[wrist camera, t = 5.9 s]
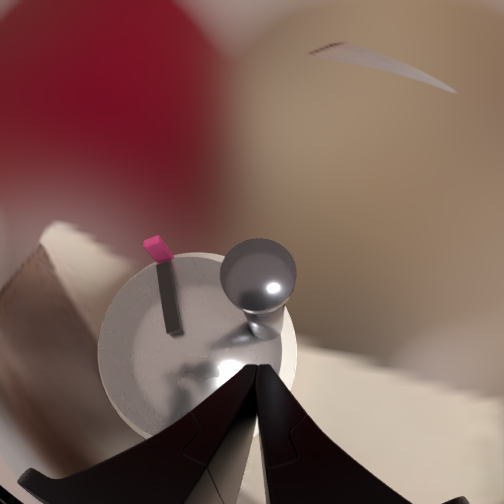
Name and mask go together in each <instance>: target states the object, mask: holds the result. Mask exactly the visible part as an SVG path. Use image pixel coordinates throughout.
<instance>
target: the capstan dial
mask: <svg viewBox="0 0 504 504" xmlns="http://www.w3.org/2000/svg"><path fill="white" fill-rule="evenodd" d="M295 281H296V265H295V262H294V260H293V258H292V256H291V254H290V253H289V252H288V251H287V250H286V249H285V248H284V247H283V246H282V245H280V244H278V243H276V242H274V241H272V240H268V239H251V240H247V241H244V242H242V243H239V244H238V245H236V246H235V247H233V248H232V249H231V250H230V251H229V252H228V253H227V255H226V256H225V258H224V259H223V262H219V261H215V260H212V259H208V258H201V257H180V258H173V259H169V260H165V261H162V262H159V263H156V264H154V265H152V266H150V267H148V268H146V269H144V270H143V271H141V272H140V273H138V274H137V275H135V276H134V277H133V278H132V279H130V280H129V281H128V282H127V283H126V284H125V285H124V286H123V287H122V288H121V290H120V291H119V292H118V293H117V295H116V296H115V298H114V299H113V301H112V302H111V304H110V306H109V308H108V310H107V312H106V314H105V317H104V319H103V323H102V326H101V330H100V336H99V346H98V355H99V365H100V370H101V375H102V378H103V381H104V384H105V387H106V389H107V391H108V393H109V395H110V397H111V398H112V400H113V402H114V403H115V405H116V406H117V407H118V409H119V410H120V411H121V412H122V413H123V415H124V416H125V417H126V418H127V419H129V420H130V421H131V422H132V423H133V424H134V425H136V426H137V427H138V428H140V429H141V430H143V431H144V432H146V433H148V434H150V435H152V436H153V435H155V434H157V433H159V432H160V431H162V430H164V429H165V428H167V427H168V426H170V425H171V424H173V423H174V422H176V421H177V420H178V419H180V418H181V417H183V416H184V415H185V414H186V413H188V412H190V411H191V410H192V409H193V408H195V407H196V406H197V405H198V404H200V403H201V402H202V401H203V400H205V399H206V398H207V397H208V396H209V395H211V394H212V393H213V392H214V391H215V390H217V389H218V388H219V387H220V386H221V385H223V384H224V383H225V382H226V381H227V380H228V379H230V378H231V377H232V376H233V375H234V374H235V373H237V372H238V371H239V370H240V369H241V368H242V367H243V366H245V365H246V364H257V365H259V364H270V365H271V366H272V368H273V369H274V370H275V372H276V373H277V374H278V376H279V373H280V367H281V362H282V342H281V334H280V333H281V331H282V328H283V320H284V309H285V303H286V302H287V301H288V299H289V298H290V296H291V295H292V292H293V290H294V287H295Z"/></svg>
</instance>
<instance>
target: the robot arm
mask: <svg viewBox="0 0 504 504" xmlns="http://www.w3.org/2000/svg"><path fill="white" fill-rule="evenodd" d="M257 420H258V430H259V440H260V450H261V459H262V468H263V477H264V487H265V495H266V504H412V503H411V502H409V501H408V500H407V499H405V498H404V497H402V496H401V495H400V494H398V493H397V492H395V491H394V490H393V489H391V488H390V487H389V486H387V485H386V484H385V483H383V482H382V481H381V480H380V479H378V478H377V477H376V476H374V475H373V474H372V473H371V472H369V471H368V470H367V469H366V468H364V467H363V466H362V465H361V464H359V463H358V462H357V461H356V460H354V459H353V458H352V457H351V456H350V455H348V454H347V453H346V452H345V451H344V450H343V449H341V448H340V447H339V446H338V445H337V444H336V443H334V442H333V441H332V440H331V439H330V438H329V437H328V436H327V435H326V434H325V433H324V432H323V431H322V430H321V429H320V428H319V427H318V426H317V424H316V423H315V422H314V421H313V420H312V418H311V417H310V416H309V415H308V414H307V413H306V411H305V410H304V409H303V407H302V406H301V405H300V403H299V402H298V401H297V400H296V398H295V397H294V396H293V394H292V393H291V392H290V390H289V389H288V388H287V386H286V385H285V384H284V382H283V381H282V380H281V378H280V377H279V376H278V374H277V373H276V372H275V370H274V369H273V368H272V366H271V365H270V364H259V365H257V364H246V365H245V366H243V367H242V368H241V369H240V370H239V371H238V372H237V373H235V374H234V375H233V376H232V377H231V378H230V379H228V380H227V381H226V382H225V383H224V384H223V385H221V386H220V387H219V388H218V389H217V390H215V391H214V392H213V393H212V394H211V395H209V396H208V397H207V398H206V399H205V400H203V401H202V402H201V403H200V404H198V405H197V406H196V407H195V408H193V409H192V410H191V411H190V412H188V413H186V414H185V415H184V416H183V417H181V418H180V419H178V420H177V421H176V422H174V423H173V424H171V425H170V426H168V427H167V428H165V429H164V430H162V431H160V432H159V433H157V434H155V435H153V436H152V437H150V438H148V439H146V440H144V441H142V442H141V443H139V444H137V445H135V446H133V447H131V448H129V449H127V450H125V451H123V452H121V453H119V454H117V455H115V456H113V457H111V458H109V459H107V460H105V461H103V462H100V463H98V464H96V465H94V466H92V467H89V468H87V469H85V470H83V471H80V472H78V473H75V474H73V475H71V476H68V477H66V478H62V479H52V478H49V477H47V476H45V475H44V474H42V473H40V472H39V471H37V470H35V469H33V468H29V469H27V470H26V471H25V472H24V473H23V474H22V475H21V476H20V478H19V479H18V481H17V482H18V484H19V485H20V486H21V487H23V488H24V489H25V490H26V491H27V492H29V493H30V494H31V495H33V496H34V497H35V498H36V499H38V500H39V501H40V502H42V503H43V504H236V501H237V497H238V494H239V490H240V486H241V482H242V479H243V475H244V471H245V467H246V463H247V459H248V455H249V451H250V447H251V443H252V438H253V434H254V430H255V426H256V421H257ZM0 504H23V503H22V502H21V501H19V500H18V499H17V498H16V497H14V496H13V495H12V494H10V493H9V492H8V491H7V490H6V489H4V488H3V487H2V486H1V485H0ZM442 504H469V502H468V500H467V499H466V498H465V497H464V496H461V497H457V498H454V499H452V500H449V501H447V502H445V503H442Z"/></svg>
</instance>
